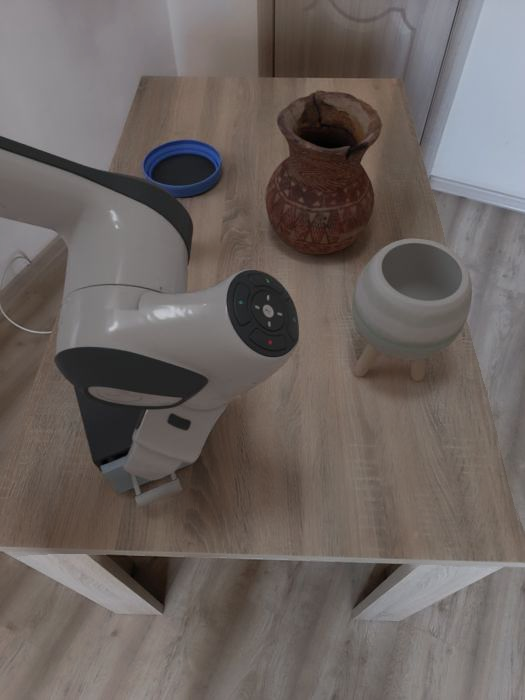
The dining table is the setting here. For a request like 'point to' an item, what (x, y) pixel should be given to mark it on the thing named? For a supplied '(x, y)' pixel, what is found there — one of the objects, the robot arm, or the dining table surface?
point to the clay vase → (323, 172)
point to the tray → (137, 481)
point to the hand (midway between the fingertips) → (156, 402)
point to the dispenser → (106, 428)
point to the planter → (410, 303)
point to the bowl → (183, 167)
